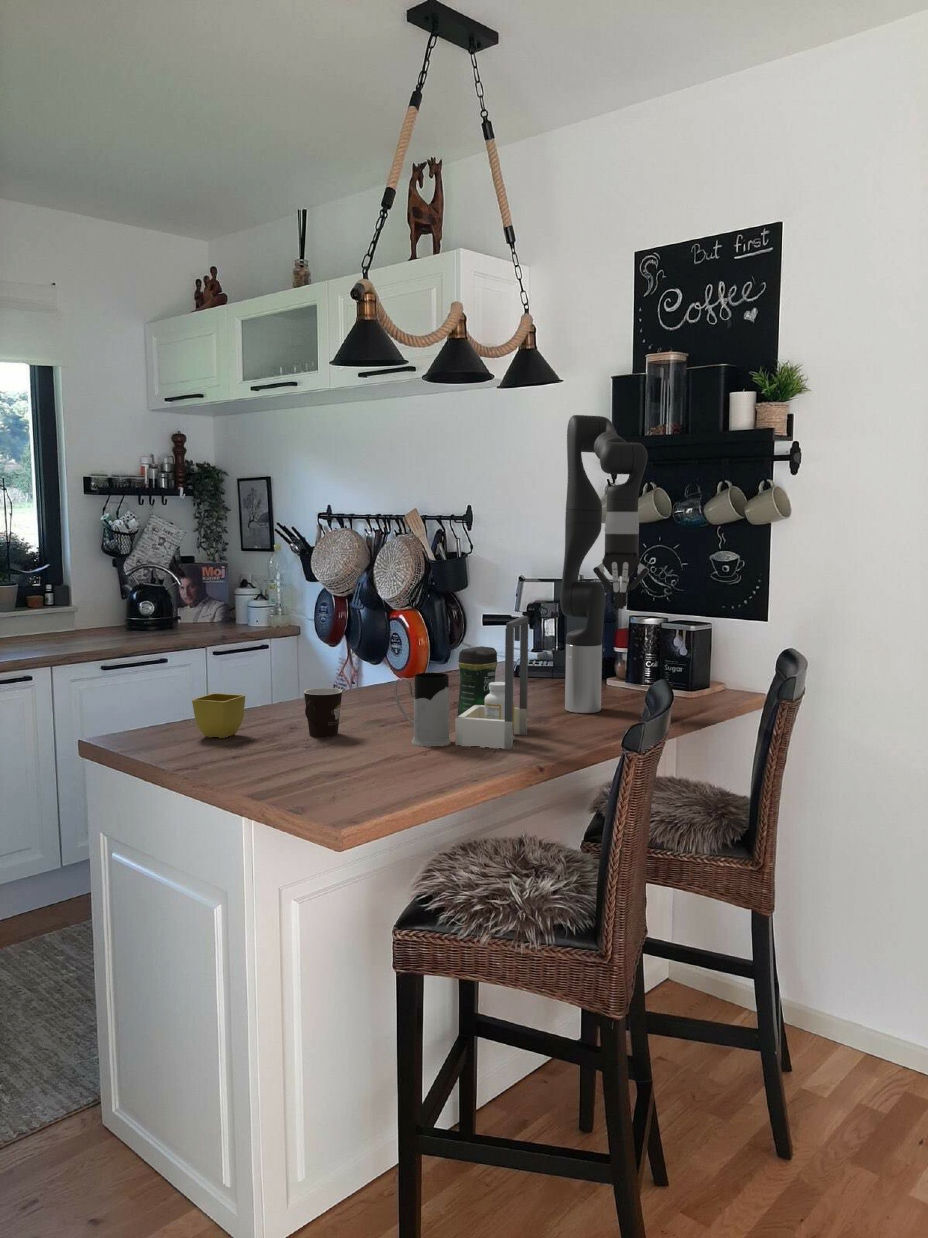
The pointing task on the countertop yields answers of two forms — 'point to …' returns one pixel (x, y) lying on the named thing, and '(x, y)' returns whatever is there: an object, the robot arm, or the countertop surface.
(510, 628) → the bay
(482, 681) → the coffee jar
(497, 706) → the supplement bottle
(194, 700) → the flower pot
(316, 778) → the countertop surface
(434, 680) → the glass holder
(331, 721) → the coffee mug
